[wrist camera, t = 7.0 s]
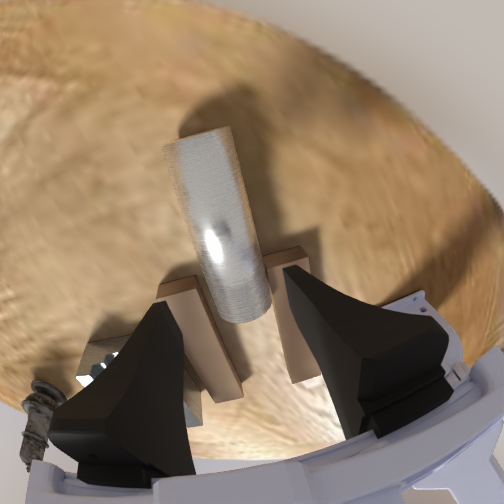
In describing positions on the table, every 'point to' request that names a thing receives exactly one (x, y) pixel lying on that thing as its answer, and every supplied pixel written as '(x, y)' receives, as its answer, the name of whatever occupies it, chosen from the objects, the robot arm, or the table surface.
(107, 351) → the v block
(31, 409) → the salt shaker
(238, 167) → the axle
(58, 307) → the table surface
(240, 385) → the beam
